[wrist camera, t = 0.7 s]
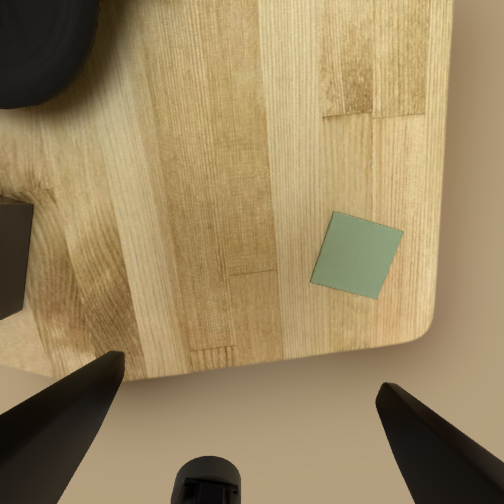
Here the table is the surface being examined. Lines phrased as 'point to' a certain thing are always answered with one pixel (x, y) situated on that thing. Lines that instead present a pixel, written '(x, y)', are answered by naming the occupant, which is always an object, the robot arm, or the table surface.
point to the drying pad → (356, 255)
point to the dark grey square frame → (13, 253)
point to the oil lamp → (43, 47)
